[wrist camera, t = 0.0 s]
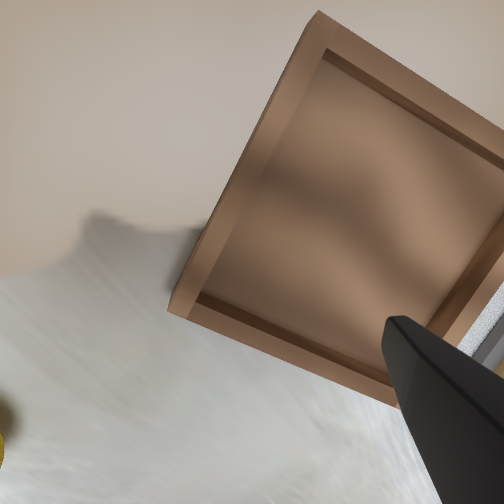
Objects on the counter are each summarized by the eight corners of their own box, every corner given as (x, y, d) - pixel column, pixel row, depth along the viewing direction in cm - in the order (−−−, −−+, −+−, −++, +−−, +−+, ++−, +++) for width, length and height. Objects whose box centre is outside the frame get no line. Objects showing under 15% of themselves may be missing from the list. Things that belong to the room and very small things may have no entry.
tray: (392, 390, 28) (409, 413, 26) (171, 294, 25) (166, 311, 22) (542, 174, 25) (576, 178, 22) (306, 23, 21) (318, 9, 19)
